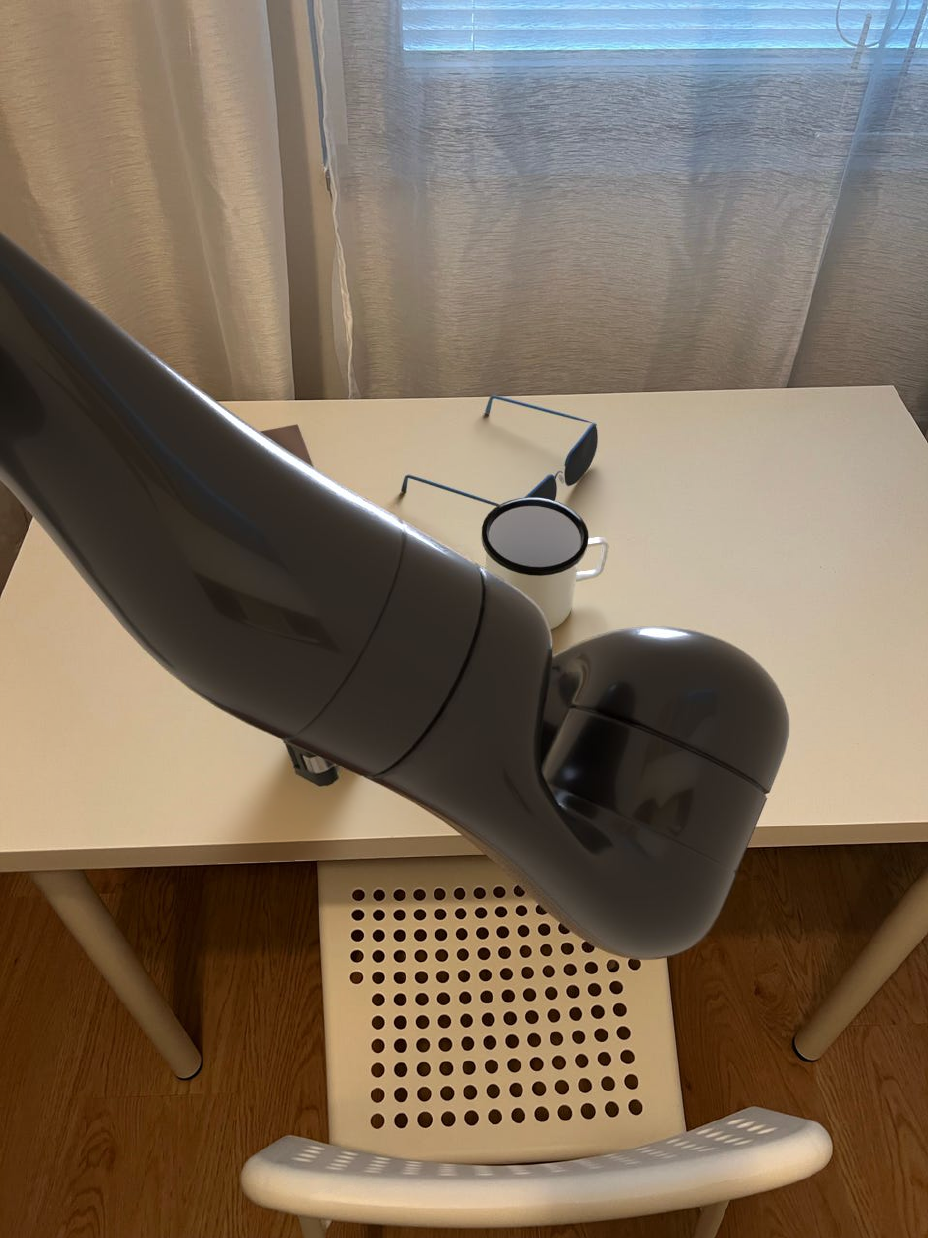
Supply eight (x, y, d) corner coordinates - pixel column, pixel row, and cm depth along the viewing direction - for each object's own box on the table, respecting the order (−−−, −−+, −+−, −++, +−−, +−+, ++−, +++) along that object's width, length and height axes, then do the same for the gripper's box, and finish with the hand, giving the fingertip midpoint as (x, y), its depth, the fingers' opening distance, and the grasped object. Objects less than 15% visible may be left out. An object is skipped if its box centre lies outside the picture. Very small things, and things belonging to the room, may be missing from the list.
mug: (493, 648, 85) (498, 579, 78) (466, 574, 91) (469, 504, 84) (617, 624, 87) (632, 555, 80) (583, 554, 93) (594, 484, 86)
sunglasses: (520, 549, 93) (518, 509, 90) (401, 507, 100) (395, 469, 96) (600, 457, 103) (601, 418, 99) (487, 425, 109) (484, 387, 106)
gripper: (563, 606, 48) (452, 607, 63) (305, 715, 43) (251, 688, 58) (608, 741, 49) (488, 710, 64) (361, 861, 44) (294, 797, 59)
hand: (375, 699), depth 61 cm, fingers open, 8 cm apart
